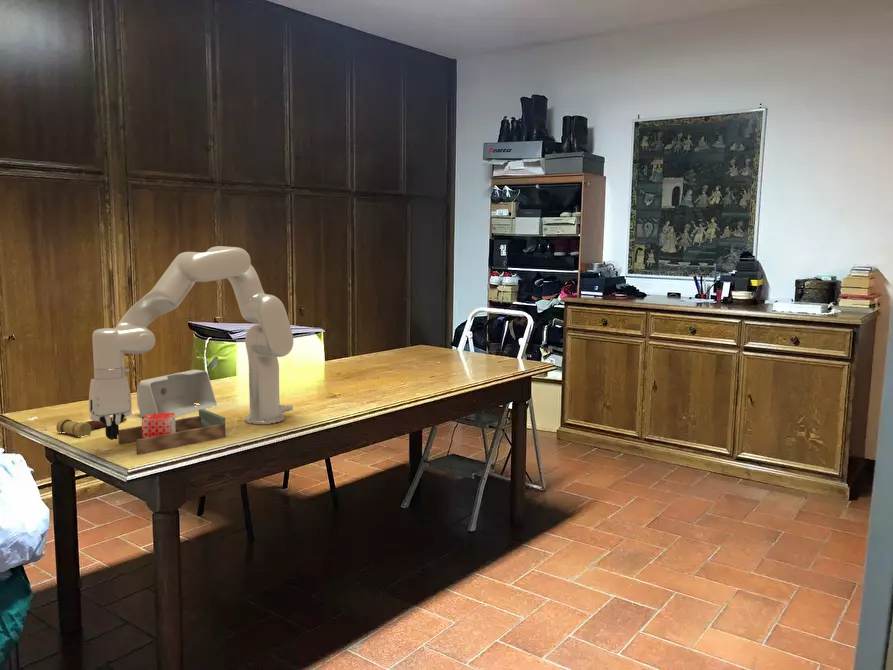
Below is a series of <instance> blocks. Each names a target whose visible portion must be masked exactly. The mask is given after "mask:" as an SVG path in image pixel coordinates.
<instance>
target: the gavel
mask: <svg viewBox="0 0 893 670" xmlns="http://www.w3.org/2000/svg"><path fill="white" fill-rule="evenodd" d="M112 417H113V416H110V420H111V423H112ZM127 420H128V418H127V416H126V417H124V418H123V419H122V420H121V422H120V424H121V423H123V421H124V422H125V421H127ZM55 426H56V427H55V428H56V431H57V433H58V432H61V433H62V432H65V433H68V434H67V435H70V434H73V435H72V436H76V437H77V436H79V437H78V438H80V437H81V436H85V435H89V434H90V435H91V433H92V430H94V429H95V428H96V429H100V427H101V428H105V424H104V423H102V422H101V421H93V420H90V421H85V422H84V421H79V422H78V421H73V420H72V419H68V418H62V419H60V420H58V421H57V423H56V425H55ZM96 429H95V430H96ZM61 433H60V434H61ZM90 435H89V436H90Z"/></svg>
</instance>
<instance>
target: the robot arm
mask: <svg viewBox="0 0 893 670" xmlns="http://www.w3.org/2000/svg"><path fill="white" fill-rule="evenodd" d="M251 261H252V260H251V256H250V253H248V252H247V251H246V249H243V248H242V247H237V246H224V245H223V246H221V245H218V246H212V247H210V248H208V249H207V250H206V251H204V252H197V251H184V252H181V253H179V254H178V255H176V257H175V258H174V259H173V261H171V263H170V265H169V266H168V267H167V268H166V270H165V271H164V273H163V274H162V276H161V277H159V280H158V281H157V282H156V283H155V285H153V288H152V289H151V290H149V292H147V293H146V294H145V295H143V296H142V298H140V299H139V300H138V301H136V302H135V303H134V304H133V305H132V306H131V307H130V308H129V309H128V310H127V311H126V312H125V314H124V315H123V316H122V318H120V321H118V323H117V324H116V326H115V327H114V328H112V327H110V328H109V327H105V328H98V329H95V330H94V331H93V332H92V335H91V336H92V340H91V341H92V352H93V353H92V355H93V376H94V378H91V379H90V383H89V395H88V411H89V413H90V421H101V422H102V423H104V424H105V427H104V428H105V437H107V439H109V440H111V441H113V440H118V435H119V430H120V429H119V425H120V424H121V423H122V422H121V420H122V419H123V418H124V417H126V418H127V417H129V416H131V415H132V413H133V412H132V395H131V389H130V384H129V380H128V377H127V376H126V373H129V372H130V367H127V366H125V357H124V355H125V354H134V355H135V354H136V355H141V354H145V353H148V352H149V351H151V350H152V349H153V348H154V347H155V344H156V337H155V334H154V332H153V331H151V330H150V329H148V327H149V325H150V324H152V323H153V322H154V320H156V319H157V318H159V317H160V316H162V315H165V314H168V313H170V312H171V311H173V310H175V309H177V308H178V307H179V306H180V305H181V303H183V301H184V299H185V297H186V296H187V294H188V293H189V292H190V291H191V289H192V288H193V287H194V285H195V283H196V282H197V283H199V282H200V283H207V282H208V283H209V282H214V281H215V282H216V281H221V280H225V279H227V280H228V281H229V283H230V285H231V287H232V289H233V293H234V295H235V299H236V301H237V305H238V308H239V312H240V315H241V316H242V318H243V320H245V321H247V322H249V323H251V324H252V323H253V324H254V325H252V326H251V327H250V328H249V329H248V330H247V331H246V334H245V336H244V337H245V339H244V342H245V350H246V355H247V359H248V360H247V361H248V387H249V389H248V391H249V396H248V397H249V414H247V415H246V416H245V418H244V421H245V422H246V423H248V422H249V423H248V424H251V423H253V424H252V425H272V424H271V423H273V424H277V423H276V422H278V423H280V421H281V422H283V421H284V420H285V418H286V417H285V412H290V411H293V409H294V408H293V407H294V406H293V405H292V404H289V405H285V404H281V403H280V401H281V400H280V363H279V359H278V358H282V357H286V356H287V355H289V354H290V353H291V351H292V349H293V347H294V335H293V331H292V327H291V323H290V320H289V316H288V314H287V310H286V308H285V305H284V303H283V302H282V300H280V298H278V297H277V296H276V295H272V294H269V293H268V294H266V293H265V291H264V289H263V287H262V283H261V281H260V277H259V275H258V272H257V271H256V269H255V267H254V266H253V265H252V262H251ZM111 417H112V423H111V420H110V418H111ZM282 420H283V421H282ZM120 422H121V423H120Z"/></svg>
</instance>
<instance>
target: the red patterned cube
mask: <svg viewBox="0 0 893 670" xmlns="http://www.w3.org/2000/svg"><path fill="white" fill-rule="evenodd" d="M175 420H176V417H175V413H158V414H146V415H145V417H142V420H141V426H142V438H148V437H153V436H158V435H164V434H169V433H175V432H176V427H175Z"/></svg>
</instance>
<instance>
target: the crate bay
mask: <svg viewBox="0 0 893 670" xmlns="http://www.w3.org/2000/svg"><path fill="white" fill-rule="evenodd" d="M175 427H176V432H175V433H169V434H164V435H158V436H153V437H148V438H142V425H138V426H132V427H127V428H122V429H119V435H117V440H118V441H117V443H118V444H119V445H122V444H123V443H124V444H128V443H129V444H130V443H134V442H135V447H136V448H135V449H136V455H144V454H147V453H148V454H149V453H153V452H159V451H163V450H168V449H173V448H177V447H179V448H180V447H182V446H183V445H184V446H188V444H189V445H193V444H198V442H199V443H204V442H208V440H209V441H212V440H213V439H214V440H218V439H217V438H219V439H222V437H224V438H226V437H227V434H226V433H227V432H226V431H227V430H226V428H227V427H226V417H224V416H222V415H219V414H217V413H214V412H212V411H210V410H207V409H199V411H198V415H196V416H191V417H184V418H179V419H175ZM203 441H204V442H203Z"/></svg>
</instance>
